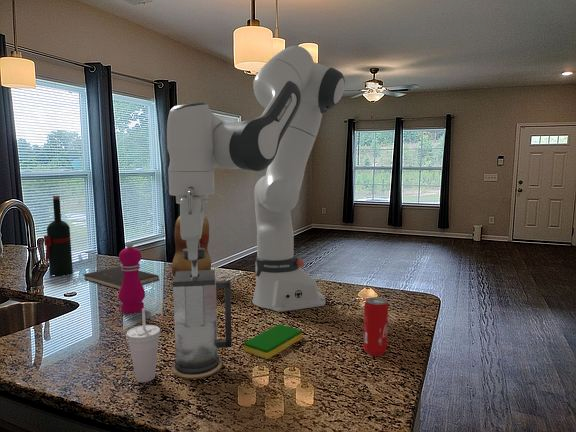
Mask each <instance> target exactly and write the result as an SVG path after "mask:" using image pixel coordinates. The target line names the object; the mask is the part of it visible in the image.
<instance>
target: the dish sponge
mask: <svg viewBox="0 0 576 432" xmlns="http://www.w3.org/2000/svg"><path fill="white" fill-rule="evenodd" d="M302 332H303V331H302V329H298V328H295V327H291V326H287V325H284V324H280V323H279V324H277V325H276V326H273V327H271V328H270V329H268V330H265V331H263V332H261V333H260V334H258V335H256V336H254V337H252V338H250V339H248V340H246V341H243V352H246V353H248V354H250V355H255V356H256V357H260V358H263V359H266V360H267V359H271V358H272V357H274V356H275V355H277V354H279V353H280V352H282V351H284V350H285V349H286V348H288V347H290V346H292V345H294V344H295V343H297V342H298V341H300V340H302V339H303V333H302Z"/></svg>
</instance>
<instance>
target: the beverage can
mask: <svg viewBox="0 0 576 432" xmlns="http://www.w3.org/2000/svg"><path fill="white" fill-rule="evenodd" d="M363 307H364V309H363V310H364V311H363V312H364V314H363V315H364V317H363V349H364V352H365V353H366V354H367V355H369V356H372V357H380V356H383V355H385V353H386V351H387V350H388V349H387V348H388V325H389V323H388V320H389V304H388V300H387V299H385V298H383V297H376V296H375V297H374V296H373V297H372V296H371V297H367V298H366V299H365V302H364V306H363Z"/></svg>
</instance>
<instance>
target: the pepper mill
mask: <svg viewBox="0 0 576 432" xmlns="http://www.w3.org/2000/svg"><path fill="white" fill-rule="evenodd" d="M118 260H119V263H121V265H120V266H121V267H122V269H121V270H122V271H123V283H122V286H121V288H120V289H118V290H119V292H118V301H119V302H120V303H122V304H121V305H120V312H121V313H123V314H127V315H129V314H137V313H141V312H142V309H143V308H145V304H144V302H143V301H144V299H145V297H146V291H145V288H144V285H143V284H141V282H140V279H139V274H138V271H140V269H141V266H140V265H141V264H140V263H139V262H140V261H141V260H142V253H141V251H140V249H138V248H136V247H134V243H133V242H131V241H130V242H127V243H126V247H125V248H123V249H122V250H121V251H120V252H119V254H118Z"/></svg>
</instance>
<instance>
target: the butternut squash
mask: <svg viewBox="0 0 576 432" xmlns="http://www.w3.org/2000/svg"><path fill="white" fill-rule="evenodd" d="M209 242H210V224H209V220H208V217H206V216H205V215H204V221H203V227H202V235H201V239H199V248H205V258H203V259H197V263H198V270H212V260H211V256H210V254H209V252H208V245H209ZM174 245H175V253H174V256H173V259H172V263H171V274H172V275H173V278H174V277H175V274H176V271H192V264H191V260H187V259H184V258H183V249H186V248H187V244H186V240H182V238H181V231H180V215H179V216H178V217H177V219H176V220H175V226H174Z"/></svg>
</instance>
